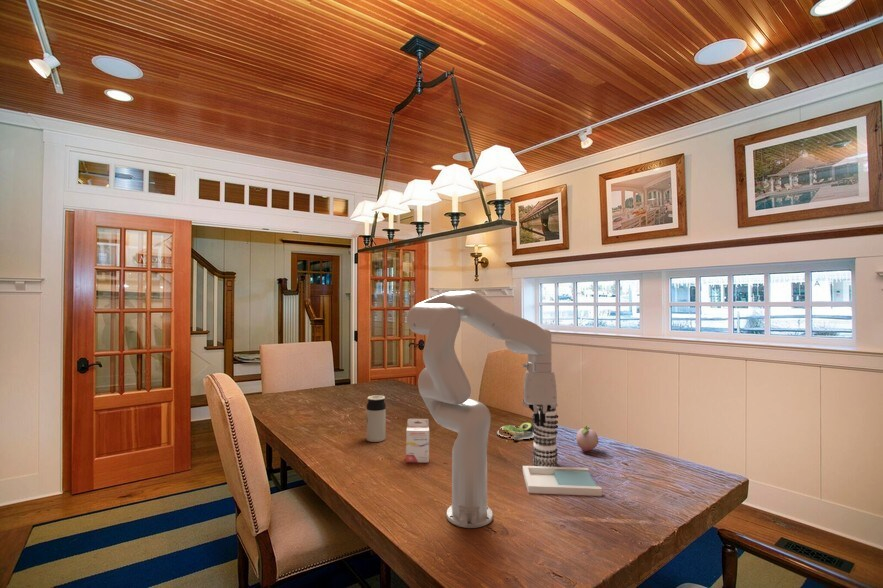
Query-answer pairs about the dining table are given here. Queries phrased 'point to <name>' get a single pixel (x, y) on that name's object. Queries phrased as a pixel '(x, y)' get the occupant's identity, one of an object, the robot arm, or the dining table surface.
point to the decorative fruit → (586, 439)
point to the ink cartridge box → (417, 441)
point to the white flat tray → (554, 482)
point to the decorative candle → (545, 439)
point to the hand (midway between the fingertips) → (539, 425)
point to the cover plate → (574, 478)
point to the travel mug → (376, 418)
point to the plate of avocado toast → (519, 431)
